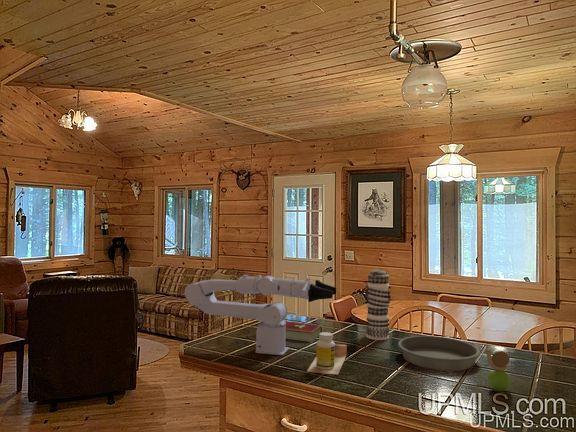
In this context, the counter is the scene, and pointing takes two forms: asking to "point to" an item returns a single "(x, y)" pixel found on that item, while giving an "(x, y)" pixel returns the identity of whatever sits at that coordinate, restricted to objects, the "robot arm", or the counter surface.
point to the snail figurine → (498, 370)
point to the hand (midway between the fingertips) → (334, 292)
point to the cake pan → (438, 352)
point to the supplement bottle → (325, 351)
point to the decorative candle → (377, 305)
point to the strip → (339, 359)
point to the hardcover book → (302, 331)
